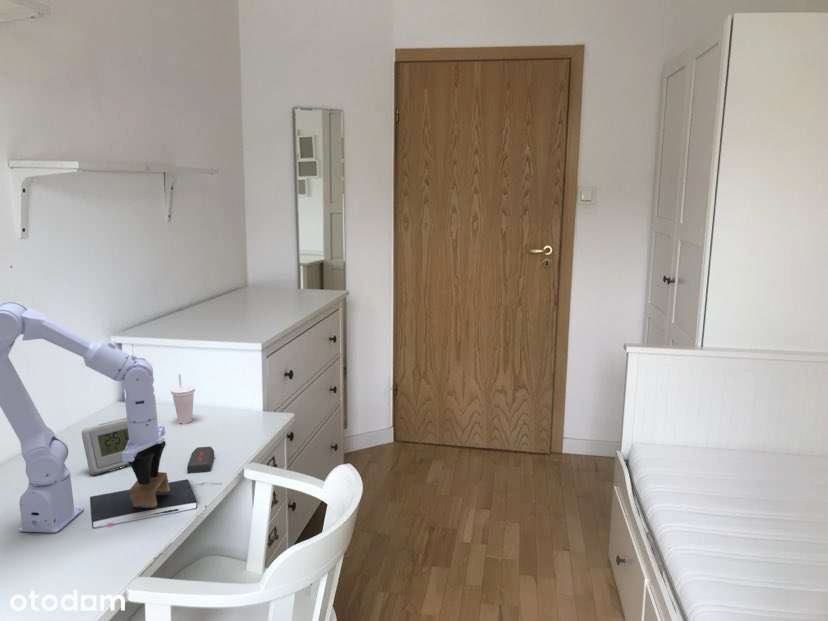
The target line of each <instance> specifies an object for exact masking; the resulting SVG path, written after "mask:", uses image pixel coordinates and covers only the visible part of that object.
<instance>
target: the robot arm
mask: <svg viewBox="0 0 828 621" xmlns="http://www.w3.org/2000/svg"><path fill="white" fill-rule="evenodd" d="M21 335H23V336H22V341H33V340H44V341H47V342H49V343H51V344H52V345H55V346H56V347H60V348H62V349H63V350H67V351H69V352H71V353H73V354H76V355H78V356H80V357H81V358H82V359H83V361H84V364H85V366H86V367H87V368H90V369H91V370H94V371H95V372H97V373H99V374H101V375H103V376H106V377H107V378H109V379H111V380H113V381H115V382H121V385H122V388H123V389H124V391H125V397H124V402H125V403H124V405H125V411H126V418H127V425H128V434H129V440H128V443H127V445H126V448H125V450H124V451H123V452H122V460H123V462H128V463H129V464H130V466H129V467H131V469H132V470H133V472H134V474H135V477H136V481H137V480H138V483H139V484H145V485H148V484H149V483H150V480H151V477H157V475H158V472H160V471H159V469H160V464H161V457H162V455H163V451H164V449H165V447H166V445H167V444H166V440H165V439H166V438H165V437H164V436H165V435H166V430H165V426H164V425H159V422H158V412H157V403H156V402H157V401H156V395H155V387H154V385H153V384H154V381H155V379H154V370H153V365H152V364H151V363H150V362H149V361H148V360H147V359H145V358H144V357H138V355H136V354H128V352H125V351H124V350H121V349H120V348H117V347H116V342H113V341H111V340H109V341H108V342H106V341H104V340H99V341H95V342H93V341H90V340H88V339H87V338H84V337H83V336H81V335H79V334H78V333H76V332H75V331H73V330H71V329H69V328H67V327H65V326H64V325H62V324H61V323H58V322H56V321H55V320H54V319H52V318H49V317H48V316H46V315H44V314H43V313H41V312H39V311H37V310H36V309H33V308H30V307H29V308H27V307H26V306H25V305H24V304H22V303H20V302H16V301H7V302H3V303H1V304H0V408H1V410H2V412H3V414H4V415H5V417H6V419H7V421H8V423H9V425H10V426H11V427H12V429H13V432H14V433H15V435H16V437H17V439H18V440H19V443H20V450H21V456H22V458H23V460H24V462H25V474H26V477H27V478H28V486H27V488H26V489H25V491H24V492H23V493H22V494H21V496H20V498H19V502H18V505H19V512H20V520H21V526H20V527H19V528H18V532H21V533H23V532H25V533H52V534H53V533H54V534H55V533H59V531H61V530H62V529H63V528H64V527H66V526H67V525H68V524H69V523H70V522H71V521H73V520H74V519H75V518H76V517H77V516H79V515H80V514H81V513H82V512H84V510H85V508H84V506H81V507H80V506H75V505H74V504H75V503H74V497H73V496H74V495H73V486H72V480H71V479H72V478H71V477H72V476H71V470H70V469H69V467H67V466H66V464H65V462H66V460H67V459H68V456H69V447H68V445H67V444H66V442H65V441H63V440H62V439H61V438H59V437H57V435H56V434H55V432H54V431H53V429H51V428H50V427H48V426H47V425H46V422H45V421H44V419H43V418H42V416H41V414H40V412H39V410H38V408H37V406H36V405H35V403H34V401H33V399H32V398H31V396H30V394H29V392H28V390H27V388H26V387H25V384H24V383H23V381H22V379H21V377H20V375H19V374H18V372H17V370H16V368H15V366H14V365H13V363H12V361H11V359H10V358H9V354H10V353H11V351H12V350H13V349H12V348H13V347H14V345H15V342H16V340H17V339H18V338H19V336H21Z"/></svg>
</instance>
